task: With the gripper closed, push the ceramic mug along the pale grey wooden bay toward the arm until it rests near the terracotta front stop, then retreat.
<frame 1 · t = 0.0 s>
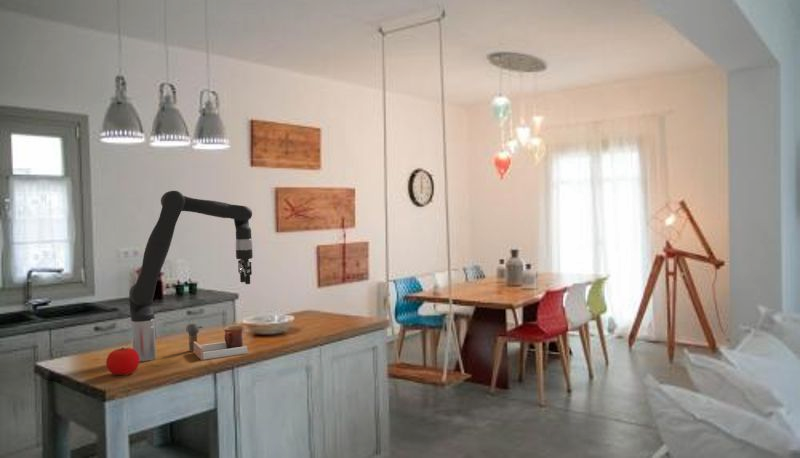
hand: (245, 283, 279), 29 cm above the countertop, fingers open, 8 cm apart
mug: (232, 351, 268), on the countertop
winch prop: (193, 350, 271), on the countertop
bay: (221, 352, 266), on the countertop
tomato: (123, 374, 234), on the countertop
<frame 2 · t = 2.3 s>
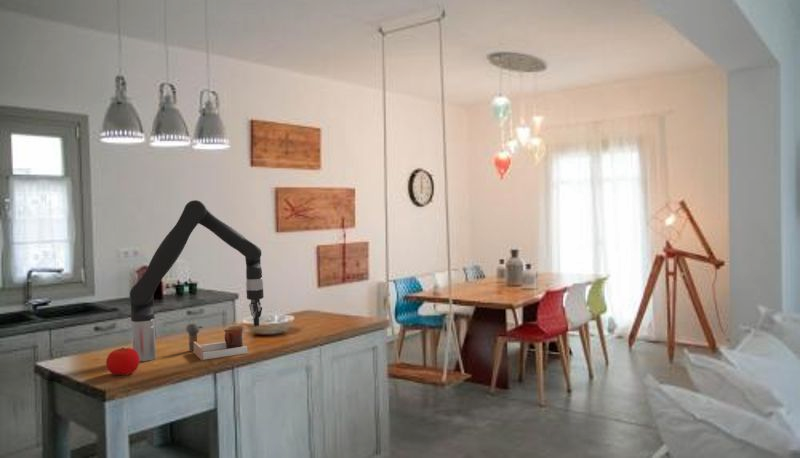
hand: (256, 325, 273), 10 cm above the countertop, fingers closed
nothing on the countertop moved.
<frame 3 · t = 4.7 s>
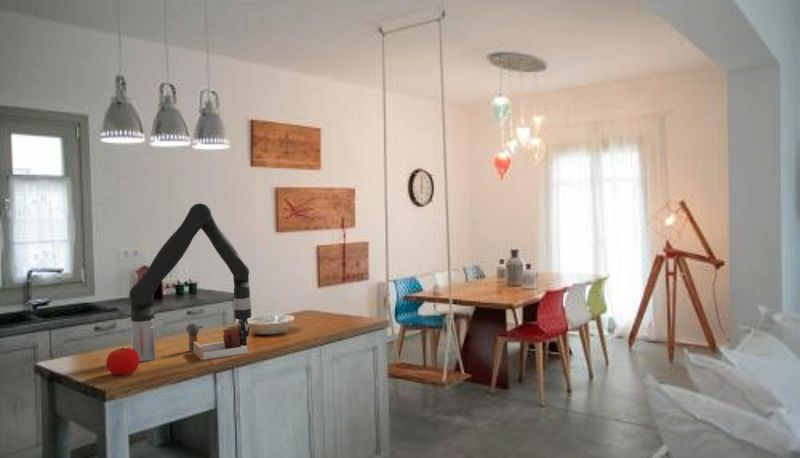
hand: (244, 345, 271), 2 cm above the countertop, fingers closed
nothing on the countertop moved.
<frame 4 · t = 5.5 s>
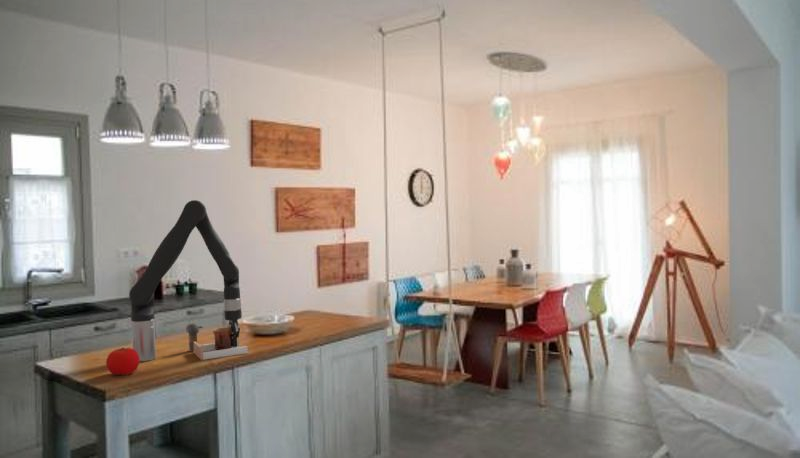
hand: (234, 346, 269), 2 cm above the countertop, fingers closed
mug: (222, 353, 265), on the countertop, touching gripper
everything else where it was.
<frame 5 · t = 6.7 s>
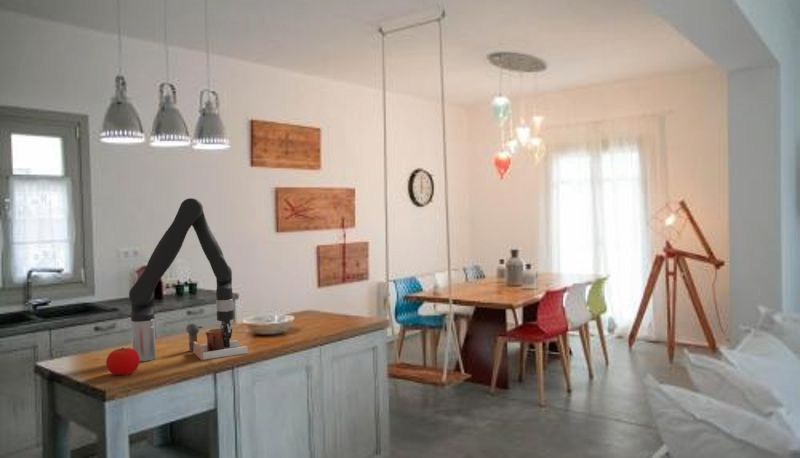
hand: (227, 347, 267), 2 cm above the countertop, fingers closed
mug: (215, 354, 263), on the countertop, touching gripper
everything else where it was.
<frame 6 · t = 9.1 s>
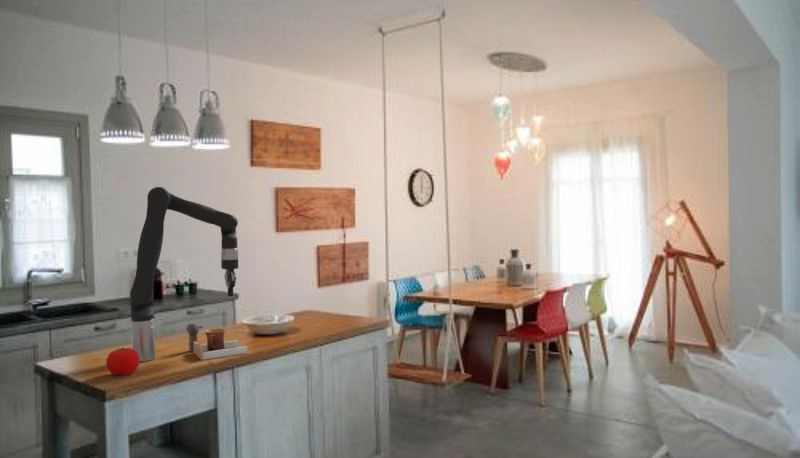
hand: (230, 296, 271), 24 cm above the countertop, fingers closed
mug: (215, 354, 263), on the countertop
everything else where it was.
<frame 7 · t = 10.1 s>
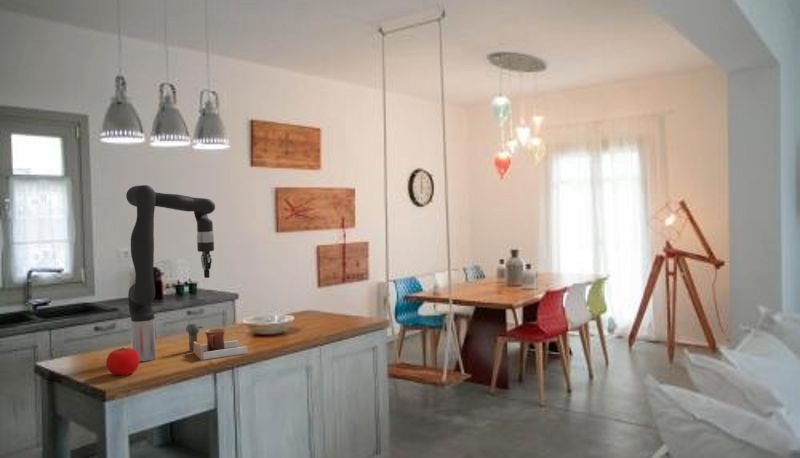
hand: (206, 277, 282), 32 cm above the countertop, fingers closed
nothing on the countertop moved.
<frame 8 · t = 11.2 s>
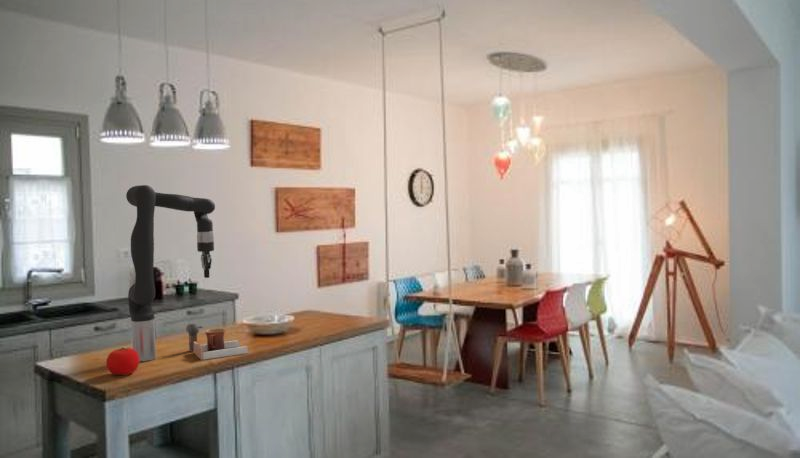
hand: (206, 277, 282), 32 cm above the countertop, fingers closed
nothing on the countertop moved.
at the end: mug inside the target area (1.2 cm from its centre), on the countertop; mug tilted 0° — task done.
